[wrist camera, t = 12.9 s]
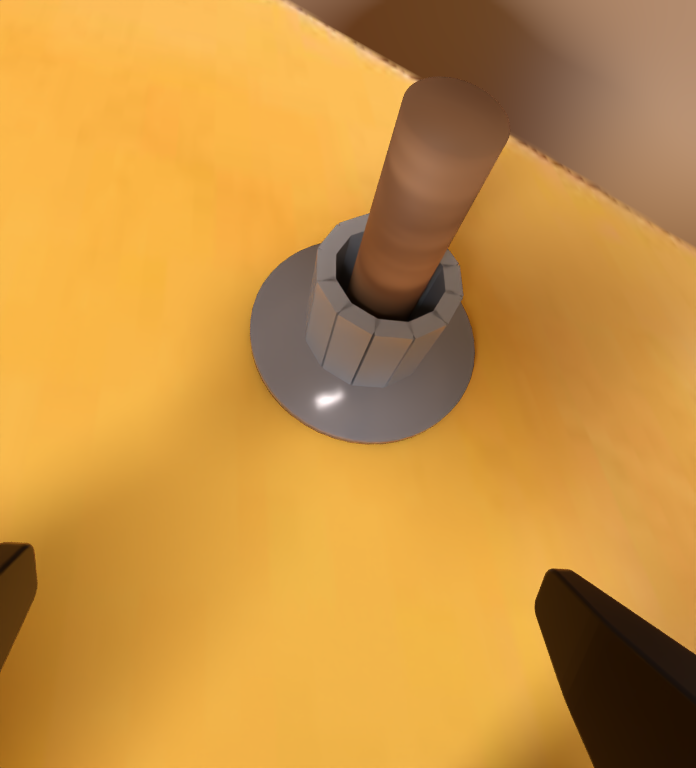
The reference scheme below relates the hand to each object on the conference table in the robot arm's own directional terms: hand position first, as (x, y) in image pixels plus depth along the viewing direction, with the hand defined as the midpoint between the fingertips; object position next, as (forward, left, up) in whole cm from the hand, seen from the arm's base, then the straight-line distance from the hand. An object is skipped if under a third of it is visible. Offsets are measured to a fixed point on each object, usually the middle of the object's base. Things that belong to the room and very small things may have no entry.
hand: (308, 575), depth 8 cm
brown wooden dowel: (+3, -13, -12) cm, 18 cm away
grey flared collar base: (+3, -13, -13) cm, 18 cm away
